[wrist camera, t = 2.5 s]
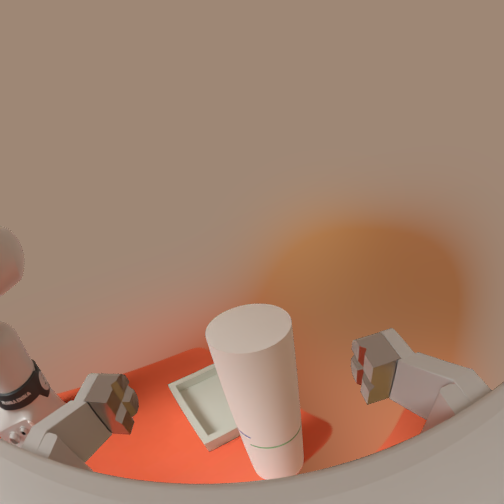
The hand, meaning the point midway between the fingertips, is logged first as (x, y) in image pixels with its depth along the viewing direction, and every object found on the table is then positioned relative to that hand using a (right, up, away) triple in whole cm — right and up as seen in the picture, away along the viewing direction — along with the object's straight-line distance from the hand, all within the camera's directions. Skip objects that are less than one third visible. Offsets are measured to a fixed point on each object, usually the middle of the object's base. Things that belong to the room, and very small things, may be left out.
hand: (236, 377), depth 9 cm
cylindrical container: (+4, -25, +21) cm, 33 cm away
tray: (-4, -22, +35) cm, 41 cm away
